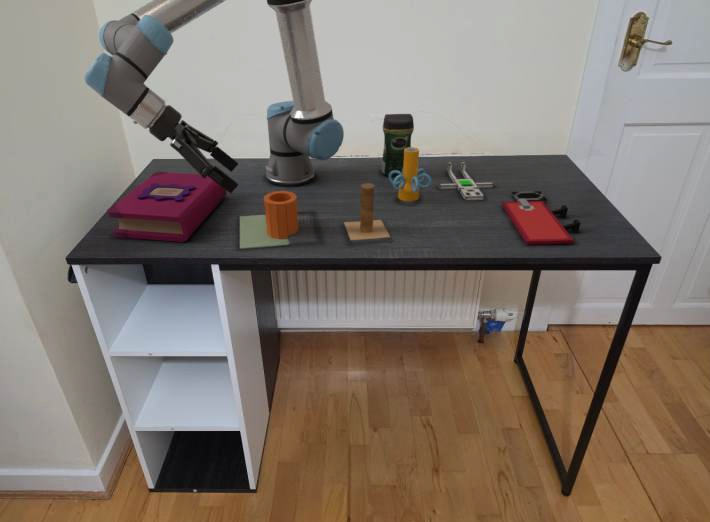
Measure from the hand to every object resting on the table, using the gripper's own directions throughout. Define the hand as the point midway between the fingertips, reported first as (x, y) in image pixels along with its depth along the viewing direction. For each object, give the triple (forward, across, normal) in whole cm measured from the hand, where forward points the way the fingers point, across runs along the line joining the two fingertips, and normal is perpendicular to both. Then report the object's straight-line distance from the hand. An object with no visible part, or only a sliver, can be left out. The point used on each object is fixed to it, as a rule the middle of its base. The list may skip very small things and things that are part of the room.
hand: (234, 177), depth 124 cm
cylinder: (+45, -14, +22) cm, 52 cm away
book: (-2, -15, -24) cm, 29 cm away
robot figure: (+59, -22, +37) cm, 73 cm away
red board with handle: (+67, +3, +44) cm, 80 cm away
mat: (+18, -2, -4) cm, 18 cm away
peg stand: (+33, +4, +11) cm, 35 cm away
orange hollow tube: (+18, 0, -3) cm, 18 cm away
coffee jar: (+46, -36, +24) cm, 63 cm away
